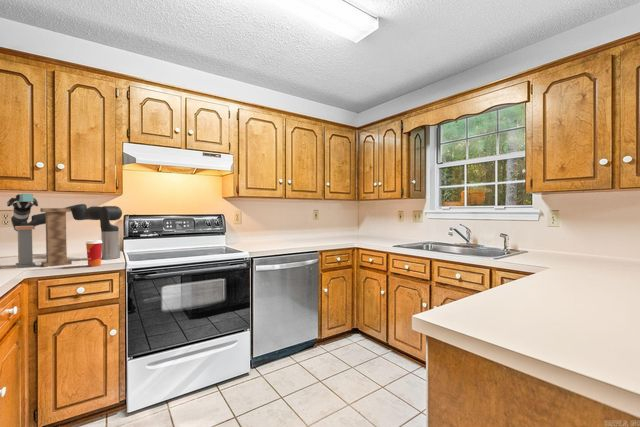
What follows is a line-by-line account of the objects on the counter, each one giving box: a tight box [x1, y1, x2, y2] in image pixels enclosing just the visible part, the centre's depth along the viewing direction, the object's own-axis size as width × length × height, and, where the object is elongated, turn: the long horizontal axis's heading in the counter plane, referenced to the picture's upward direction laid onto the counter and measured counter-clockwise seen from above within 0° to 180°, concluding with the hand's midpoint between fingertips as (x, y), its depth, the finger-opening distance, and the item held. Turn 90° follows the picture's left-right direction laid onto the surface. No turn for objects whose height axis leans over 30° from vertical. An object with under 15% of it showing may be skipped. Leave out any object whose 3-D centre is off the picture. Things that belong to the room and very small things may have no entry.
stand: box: [39, 207, 72, 268], centre depth 178 cm, size 12×8×32 cm, turn 139°
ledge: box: [15, 226, 37, 269], centre depth 175 cm, size 7×12×22 cm, turn 49°
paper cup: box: [85, 239, 103, 268], centre depth 174 cm, size 8×8×14 cm
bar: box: [19, 193, 34, 203], centre depth 176 cm, size 4×24×4 cm, turn 48°
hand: (24, 195), depth 181 cm, fingers closed on bar, 4 cm apart
